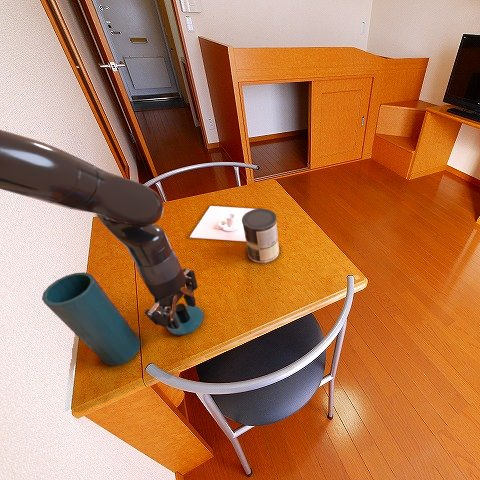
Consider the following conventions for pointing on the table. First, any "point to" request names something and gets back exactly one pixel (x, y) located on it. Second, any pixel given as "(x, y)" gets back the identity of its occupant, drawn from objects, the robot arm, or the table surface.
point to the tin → (92, 317)
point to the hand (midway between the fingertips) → (183, 315)
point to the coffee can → (261, 235)
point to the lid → (187, 319)
